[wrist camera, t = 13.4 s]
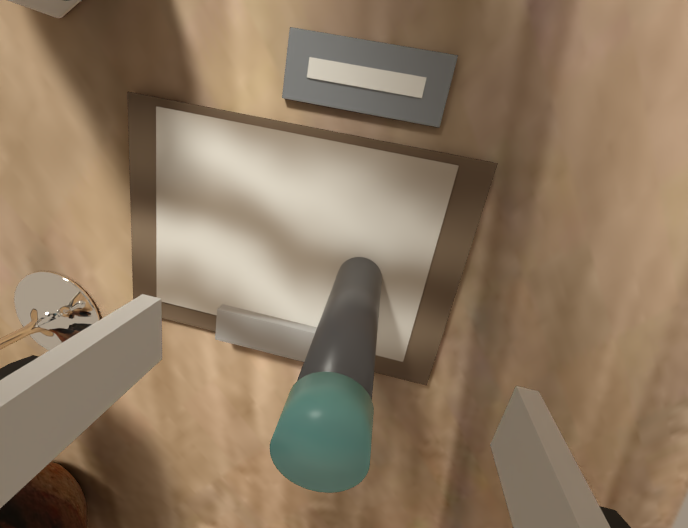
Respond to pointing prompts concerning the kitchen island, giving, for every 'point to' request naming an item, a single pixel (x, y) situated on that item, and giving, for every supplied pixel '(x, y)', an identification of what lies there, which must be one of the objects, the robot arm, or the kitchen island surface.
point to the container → (49, 6)
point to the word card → (368, 76)
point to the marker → (334, 389)
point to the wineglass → (50, 309)
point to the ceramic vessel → (47, 502)
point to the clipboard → (295, 228)
